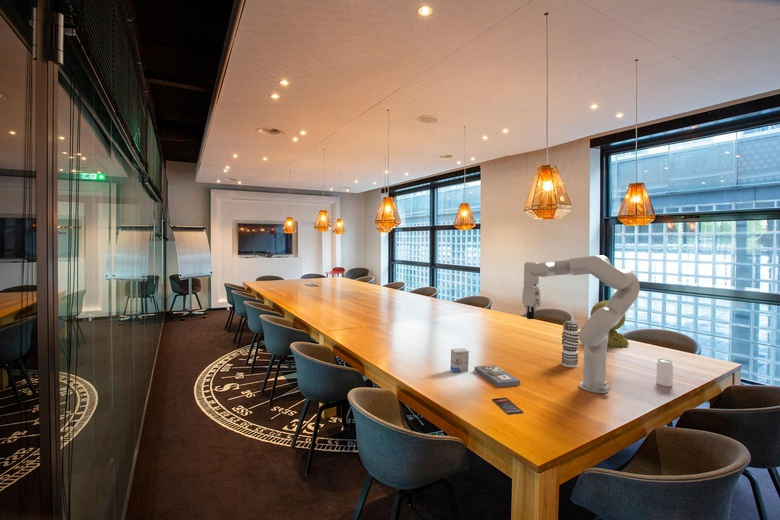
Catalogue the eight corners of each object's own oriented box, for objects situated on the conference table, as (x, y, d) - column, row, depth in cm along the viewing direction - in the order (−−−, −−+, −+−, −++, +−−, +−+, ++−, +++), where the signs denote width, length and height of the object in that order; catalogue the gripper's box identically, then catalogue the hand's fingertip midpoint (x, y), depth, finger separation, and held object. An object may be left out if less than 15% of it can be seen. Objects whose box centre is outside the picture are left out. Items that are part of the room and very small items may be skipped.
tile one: (511, 383, 187) (511, 378, 186) (502, 384, 185) (502, 379, 185) (505, 379, 192) (505, 374, 191) (496, 380, 190) (496, 375, 190)
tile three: (495, 373, 201) (495, 368, 201) (486, 373, 200) (486, 369, 199) (490, 369, 206) (490, 365, 206) (481, 370, 205) (481, 365, 204)
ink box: (454, 373, 202) (454, 351, 201) (450, 370, 206) (450, 348, 206) (468, 371, 204) (469, 350, 203) (464, 368, 209) (464, 347, 208)
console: (520, 385, 186) (520, 380, 186) (498, 387, 182) (498, 382, 182) (493, 369, 209) (494, 364, 209) (474, 370, 205) (474, 366, 205)
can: (656, 381, 192) (657, 357, 191) (672, 384, 188) (673, 360, 187) (655, 384, 187) (656, 361, 186) (671, 388, 183) (672, 363, 182)
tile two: (503, 375, 194) (503, 369, 194) (494, 376, 192) (494, 370, 192) (497, 371, 199) (497, 366, 198) (489, 372, 197) (489, 367, 197)
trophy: (582, 338, 275) (583, 297, 274) (613, 339, 274) (614, 298, 273) (598, 347, 253) (599, 303, 251) (631, 347, 252) (633, 303, 250)
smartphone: (506, 397, 170) (524, 412, 155) (506, 399, 170) (524, 414, 155) (491, 398, 168) (507, 414, 154) (491, 400, 169) (507, 415, 154)
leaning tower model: (580, 368, 211) (582, 324, 210) (563, 366, 213) (564, 323, 211) (576, 362, 220) (577, 320, 219) (559, 361, 222) (560, 319, 220)
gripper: (546, 286, 196) (545, 321, 197) (528, 283, 210) (527, 315, 211) (534, 286, 194) (533, 322, 195) (516, 283, 208) (516, 316, 209)
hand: (530, 318), depth 203 cm, fingers closed
